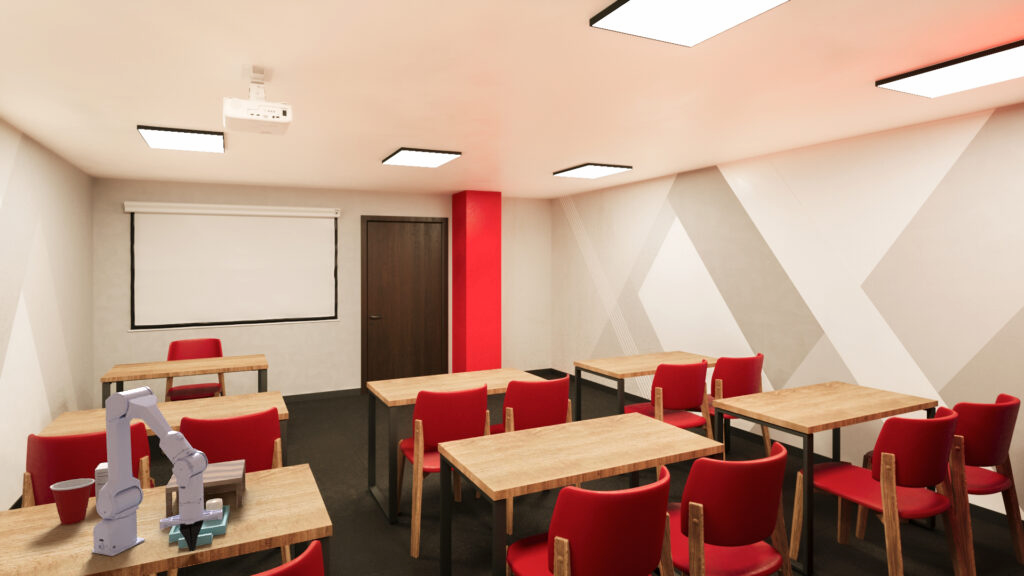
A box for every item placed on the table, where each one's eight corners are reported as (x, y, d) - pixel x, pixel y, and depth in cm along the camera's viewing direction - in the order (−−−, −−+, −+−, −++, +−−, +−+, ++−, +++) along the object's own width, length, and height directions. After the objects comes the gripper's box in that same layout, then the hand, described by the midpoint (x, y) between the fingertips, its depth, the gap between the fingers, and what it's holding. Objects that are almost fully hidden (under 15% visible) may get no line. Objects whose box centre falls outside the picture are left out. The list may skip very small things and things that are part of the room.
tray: (223, 541, 155) (223, 520, 155) (165, 551, 150) (165, 529, 150) (229, 512, 175) (229, 493, 175) (178, 520, 169) (178, 501, 169)
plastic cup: (104, 513, 175) (103, 476, 174) (74, 529, 164) (73, 489, 164) (73, 512, 176) (72, 475, 176) (41, 528, 165) (40, 488, 165)
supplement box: (100, 500, 186) (99, 462, 186) (127, 496, 189) (126, 459, 189) (95, 508, 179) (93, 469, 179) (122, 504, 182) (121, 466, 182)
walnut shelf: (242, 508, 177) (241, 477, 177) (166, 520, 169) (165, 488, 169) (245, 487, 195) (244, 459, 195) (177, 497, 187) (176, 468, 187)
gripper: (156, 509, 141) (157, 562, 141) (220, 500, 147) (221, 550, 147) (161, 499, 148) (163, 550, 148) (222, 490, 153) (224, 539, 154)
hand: (192, 549), depth 148 cm, fingers closed
